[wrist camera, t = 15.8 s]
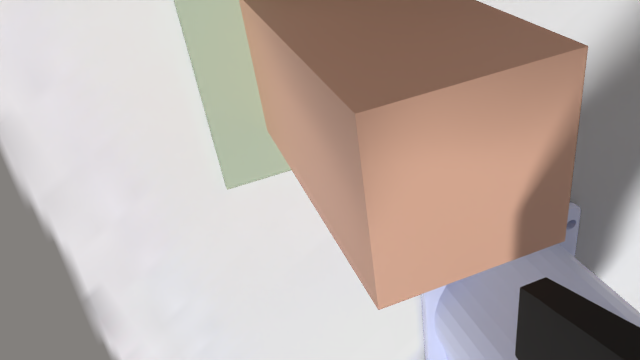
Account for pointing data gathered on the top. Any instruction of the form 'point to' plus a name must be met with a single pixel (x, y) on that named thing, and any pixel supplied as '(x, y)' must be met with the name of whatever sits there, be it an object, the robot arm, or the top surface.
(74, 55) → the top surface
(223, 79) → the mat
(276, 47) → the terracotta block
